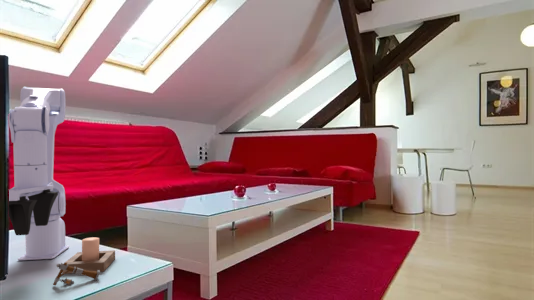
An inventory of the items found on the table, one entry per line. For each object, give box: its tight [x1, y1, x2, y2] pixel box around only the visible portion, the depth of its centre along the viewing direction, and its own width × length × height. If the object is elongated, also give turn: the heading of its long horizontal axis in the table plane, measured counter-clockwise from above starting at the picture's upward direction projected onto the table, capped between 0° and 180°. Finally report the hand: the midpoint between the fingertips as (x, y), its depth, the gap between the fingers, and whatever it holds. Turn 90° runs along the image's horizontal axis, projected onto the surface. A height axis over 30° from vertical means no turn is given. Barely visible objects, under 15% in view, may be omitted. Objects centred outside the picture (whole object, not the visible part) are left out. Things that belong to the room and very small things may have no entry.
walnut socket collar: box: [62, 250, 116, 275], centre depth 79 cm, size 8×8×2 cm
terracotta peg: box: [81, 236, 100, 261], centre depth 79 cm, size 4×4×6 cm
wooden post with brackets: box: [52, 261, 101, 286], centre depth 69 cm, size 2×8×4 cm, turn 118°
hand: (32, 229), depth 72 cm, fingers open, 7 cm apart
